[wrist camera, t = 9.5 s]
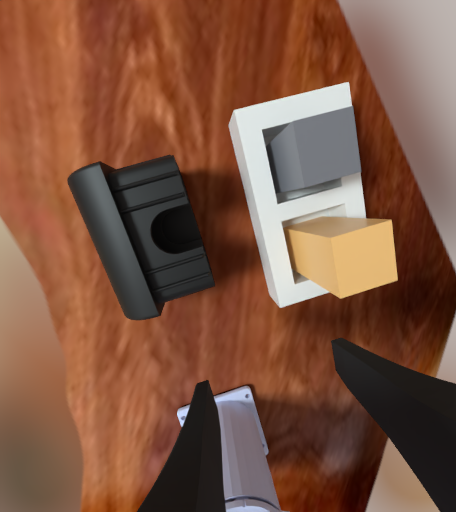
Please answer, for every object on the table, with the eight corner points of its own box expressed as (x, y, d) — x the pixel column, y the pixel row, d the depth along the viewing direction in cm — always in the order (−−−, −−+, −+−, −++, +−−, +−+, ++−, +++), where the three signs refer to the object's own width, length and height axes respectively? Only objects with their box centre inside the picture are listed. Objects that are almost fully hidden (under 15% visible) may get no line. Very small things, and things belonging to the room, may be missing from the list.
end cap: (95, 187, 19) (42, 175, 12) (177, 164, 20) (168, 141, 13) (139, 294, 21) (113, 332, 15) (212, 271, 22) (218, 298, 15)
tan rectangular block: (328, 256, 22) (397, 280, 15) (290, 267, 22) (340, 298, 14) (321, 216, 22) (391, 219, 14) (281, 227, 21) (330, 237, 13)
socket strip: (351, 269, 24) (407, 291, 17) (269, 295, 23) (296, 327, 17) (326, 100, 20) (385, 50, 14) (228, 125, 19) (243, 84, 13)
